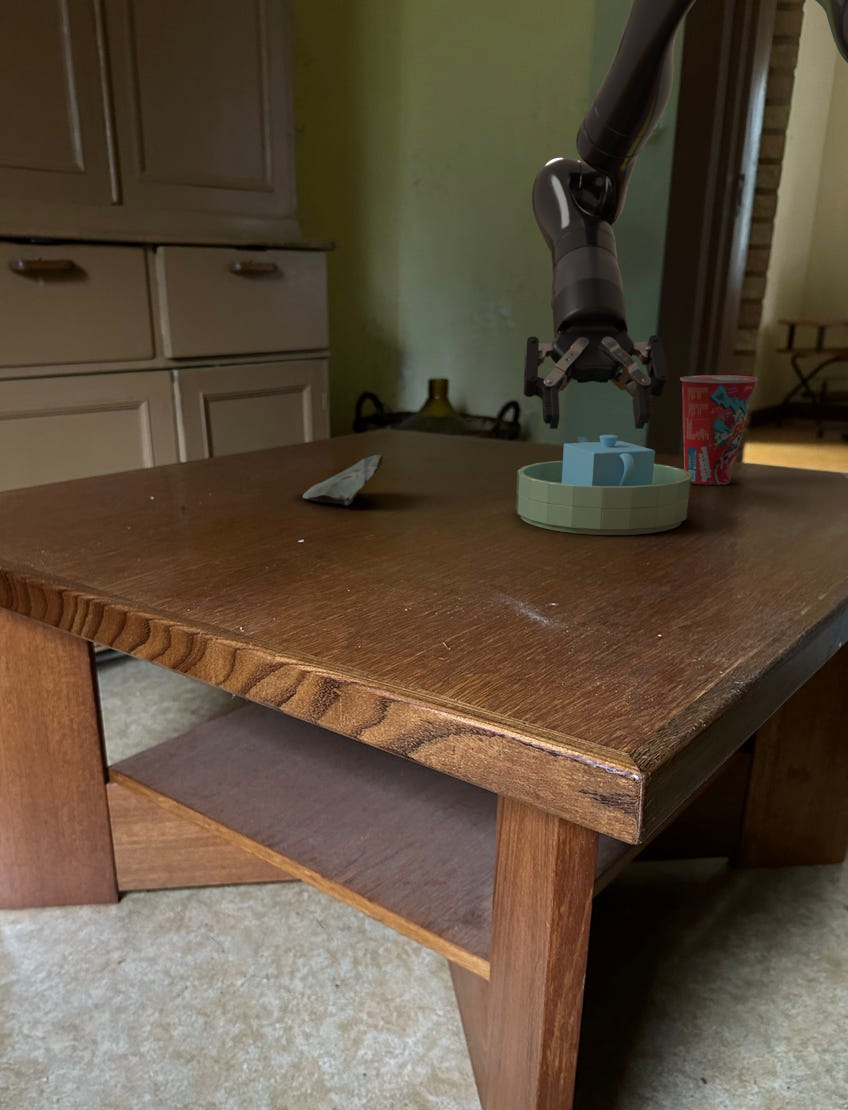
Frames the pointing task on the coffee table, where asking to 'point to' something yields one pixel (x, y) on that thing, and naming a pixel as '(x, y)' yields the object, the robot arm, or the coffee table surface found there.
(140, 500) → the coffee table surface
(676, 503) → the serving bowl
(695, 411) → the cup
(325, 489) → the stone
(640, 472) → the teapot
